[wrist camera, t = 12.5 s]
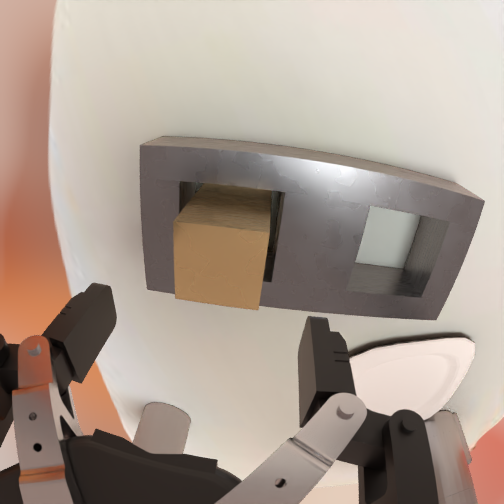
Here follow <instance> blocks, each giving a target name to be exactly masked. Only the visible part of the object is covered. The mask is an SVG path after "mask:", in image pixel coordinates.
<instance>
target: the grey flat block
mask: <svg viewBox="0 0 504 504" xmlns="http://www.w3.org/2000/svg"><path fill="white" fill-rule="evenodd" d="M196 182H198V183H209V184H220V185H229V186H239V187H248V188H256V189H264V190H272V191H280V192H281V198H280V205H279V212H278V219H277V226H276V232H275V239H274V246H273V253H271V252H267V255H266V262H265V269H264V276H263V282H262V289H261V296H260V302H259V306H266V307H274V308H283V309H292V310H302V311H312V312H322V313H333V314H345V315H357V316H370V317H385V318H401V319H420V320H437V318H438V316H439V314H440V312H441V310H442V308H443V306H444V304H445V302H446V300H447V298H448V295H449V293H450V291H451V289H452V287H453V285H454V283H455V280H456V278H457V276H458V273H459V271H460V269H461V266H462V264H463V262H464V259H465V257H466V254H467V252H468V249H469V246H470V244H471V241H472V238H473V236H474V233H475V230H476V227H477V224H478V221H479V218H480V215H481V212H482V209H483V206H484V202H485V201H484V200H483V199H481V198H479V197H478V196H476V195H475V194H473V193H472V192H470V191H469V190H467V189H465V188H464V187H462V186H460V185H459V184H457V183H454V182H451V181H447V180H444V179H440V178H437V177H433V176H430V175H426V174H422V173H419V172H415V171H411V170H407V169H403V168H399V167H395V166H390V165H386V164H382V163H377V162H373V161H368V160H363V159H358V158H353V157H348V156H343V155H337V154H332V153H326V152H320V151H314V150H308V149H301V148H294V147H287V146H280V145H272V144H264V143H255V142H245V141H235V140H223V139H210V138H195V137H173V136H163V137H160V138H157V139H155V140H152V141H149V142H147V143H144V144H142V145H140V198H141V221H142V237H143V251H144V263H145V273H146V283H147V289H148V290H154V291H160V292H166V293H172V294H175V278H174V241H173V221H174V220H175V219H176V217H177V216H178V215H179V214H180V212H181V211H182V210H183V208H184V207H185V206H186V205H187V203H188V202H189V201H190V200H191V198H192V197H193V196H194V195H195V188H196ZM370 206H376V207H381V208H387V209H392V210H397V211H402V212H407V213H412V214H417V215H422V216H421V219H420V222H419V226H418V229H417V232H416V235H415V238H414V241H413V244H412V247H411V250H410V253H409V256H408V259H407V261H406V264H405V267H404V269H399V268H391V267H383V266H375V265H367V264H359V263H355V260H356V257H357V253H358V250H359V246H360V243H361V239H362V235H363V232H364V228H365V224H366V220H367V216H368V212H369V208H370Z"/></svg>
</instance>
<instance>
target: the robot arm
mask: <svg viewBox="0 0 504 504" xmlns="http://www.w3.org/2000/svg"><path fill="white" fill-rule="evenodd" d="M116 319H117V316H116V310H115V305H114V300H113V295H112V290H111V287H110V286H108V285H103V284H98V283H92V284H91V285H90V286H89V287H88V288H87V289H86V291H85V292H81V293H79V294H78V295H76V296H74V297H73V298H71V300H70V301H69V302H68V303H67V304H66V306H65V307H64V308H63V309H62V311H61V312H60V314H58V315H57V317H56V318H55V319H54V320H53V321H52V323H51V324H50V325H49V326H48V328H47V329H46V330H45V331H44V333H43V334H42V335H41V336H40V335H34V336H30V337H28V338H26V339H25V340H24V341H23V342H22V343H21V344H7V343H6V341H5V339H4V337H3V336H2V335H1V334H0V447H1V445H2V443H3V441H4V438H5V436H6V434H7V432H8V430H9V428H10V426H11V424H12V422H13V420H14V429H15V438H16V445H17V451H18V458H19V463H18V464H16V465H13V466H11V467H9V468H7V469H4V470H2V471H0V504H299V503H300V502H301V501H302V500H303V499H304V498H305V496H306V495H307V494H308V493H309V492H310V491H311V490H312V489H313V488H314V486H315V485H316V484H317V483H318V482H319V481H320V479H321V478H322V477H323V476H324V475H325V473H326V472H327V471H328V470H329V468H330V467H331V466H332V464H333V463H334V461H335V460H339V461H343V462H347V463H351V464H354V465H358V480H359V504H478V502H477V498H476V494H475V489H474V485H473V482H472V477H471V473H470V470H469V466H468V465H469V464H470V463H471V461H472V458H471V455H470V452H469V448H468V445H467V442H466V439H465V436H464V433H463V430H462V427H461V424H460V421H459V419H458V416H457V413H455V414H452V413H451V412H449V411H439V412H436V413H435V414H434V415H433V416H431V417H430V418H428V419H425V420H423V419H422V417H421V416H420V415H419V414H418V413H416V412H414V411H412V410H408V409H402V410H398V411H396V412H395V413H394V414H393V415H392V416H389V415H385V414H381V413H377V412H374V411H371V410H369V409H367V408H366V406H365V404H364V402H363V401H362V400H361V399H360V398H358V397H357V395H356V391H355V385H354V380H353V375H352V369H351V364H350V363H349V362H350V359H349V355H348V350H347V345H346V341H345V340H344V339H343V337H342V336H341V335H340V333H339V332H331V331H330V328H329V323H328V319H327V318H322V317H312V316H308V317H307V320H306V324H305V327H304V331H303V334H302V338H301V342H300V345H299V351H298V375H299V415H300V428H302V429H301V430H300V431H299V432H298V433H297V435H296V436H294V437H293V438H289V439H288V440H287V441H285V442H284V443H283V444H282V445H281V446H280V447H279V448H278V449H277V450H276V451H275V452H274V453H273V454H272V455H271V456H270V457H269V458H268V459H267V460H265V461H264V462H263V463H262V464H261V465H260V466H259V467H258V468H257V469H256V470H254V471H253V472H252V473H251V474H250V475H249V476H248V477H247V478H245V479H244V480H243V481H241V480H240V479H239V478H238V477H236V476H235V475H233V474H232V473H230V472H228V471H226V470H224V469H221V468H219V467H217V461H218V460H215V459H209V458H203V457H198V456H193V455H188V454H153V453H149V452H147V451H145V450H143V449H141V448H140V447H138V446H136V445H134V444H133V443H131V442H129V441H127V440H126V439H124V438H122V437H119V436H116V435H113V434H110V433H107V432H104V431H101V430H98V429H95V432H94V434H93V435H83V433H82V431H81V429H80V426H79V423H78V419H77V415H76V411H75V407H74V402H73V398H72V393H71V389H70V386H69V384H70V382H71V381H72V380H73V381H76V382H78V383H82V382H83V380H84V378H85V377H86V375H87V373H88V371H89V370H90V368H91V366H92V364H93V363H94V361H95V359H96V358H97V356H98V354H99V352H100V351H101V349H102V347H103V346H104V344H105V342H106V341H107V339H108V337H109V336H110V334H111V333H112V331H113V329H114V327H115V325H116Z"/></svg>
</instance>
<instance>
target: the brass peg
mask: <svg viewBox="0 0 504 504" xmlns="http://www.w3.org/2000/svg"><path fill="white" fill-rule="evenodd" d="M271 195H272V190H264V189H256V188H248V187H239V186H229V185H220V184H209V183H204V184H203V185H202V186H201V187H200V189H199V190H198V191H197V192H196V193H195V195H194V196H193V197H192V198H191V200H190V201H189V202H188V203H187V205H186V206H185V207H184V208H183V210H182V211H181V212H180V214H179V215H178V216H177V217H176V219H175V220H174V221H173V241H174V278H175V298H176V299H182V300H188V301H195V302H201V303H208V304H215V305H222V306H229V307H237V308H244V309H252V310H258V309H259V302H260V296H261V289H262V282H263V276H264V269H265V262H266V255H267V248H268V241H269V234H270V217H271Z"/></svg>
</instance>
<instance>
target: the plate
mask: <svg viewBox="0 0 504 504" xmlns="http://www.w3.org/2000/svg"><path fill="white" fill-rule="evenodd" d="M474 356H475V342H473V341H472V340H470V339H468V338H466V337H443V338H434V339H425V340H417V341H409V342H400V343H394V344H389V345H384V346H378V347H373V348H371V349H368V350H366V351H363V352H361V353H359V354H356V355H354V356H351V357H350V358H349V359H350V362H349V363H350V364H351V369H352V375H353V380H354V385H355V391H356V395H357V397H358V398H360V399H361V400H362V401H363V402H364V404H365V406H366V408H367V409H369V410H371V411H374V412H377V413H381V414H385V415H389V416H392V415H393V414H394V413H395V412H396V411H398V410H402V409H408V410H412V411H414V412H416V413H418V414H419V415H420V416H421V417H422V419H423V420H425V419H428V418H430V417H431V416H433V415H434V414H435V413H436V412H438V411H439V410H440V409H442V407H443V406H444V405H445V404H446V403H447V402H448V400H449V399H450V398H451V397H452V395H453V394H454V392H455V391H456V389H457V388H458V386H459V385H460V383H461V381H462V380H463V378H464V376H465V375H466V373H467V371H468V369H469V367H470V365H471V363H472V360H473V358H474Z"/></svg>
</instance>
